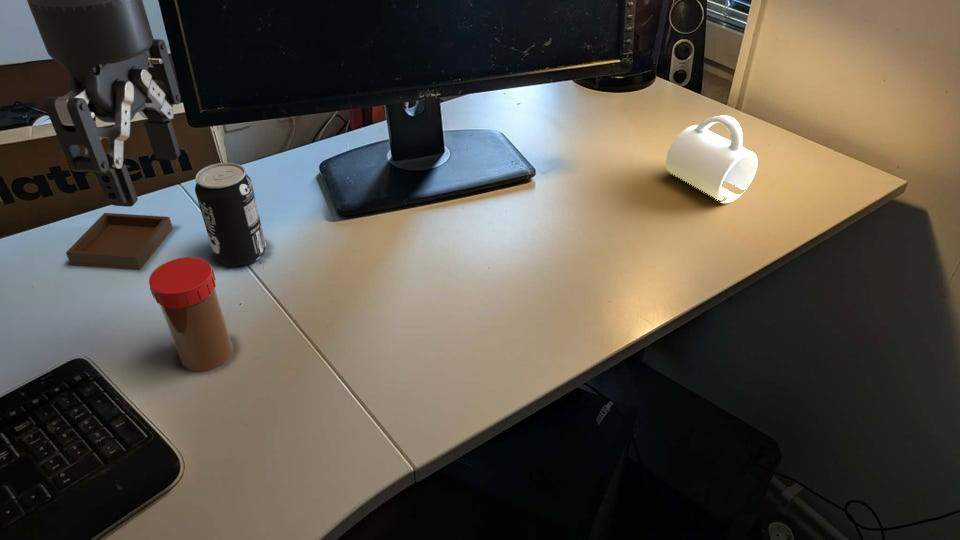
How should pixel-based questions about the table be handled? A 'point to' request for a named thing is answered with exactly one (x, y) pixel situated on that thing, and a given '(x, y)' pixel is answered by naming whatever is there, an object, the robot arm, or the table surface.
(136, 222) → the tray
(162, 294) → the jar lid
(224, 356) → the jar
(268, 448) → the table surface
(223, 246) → the beverage can
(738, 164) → the mug
